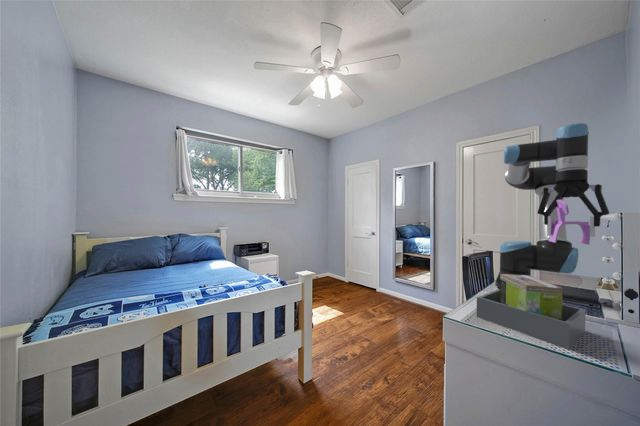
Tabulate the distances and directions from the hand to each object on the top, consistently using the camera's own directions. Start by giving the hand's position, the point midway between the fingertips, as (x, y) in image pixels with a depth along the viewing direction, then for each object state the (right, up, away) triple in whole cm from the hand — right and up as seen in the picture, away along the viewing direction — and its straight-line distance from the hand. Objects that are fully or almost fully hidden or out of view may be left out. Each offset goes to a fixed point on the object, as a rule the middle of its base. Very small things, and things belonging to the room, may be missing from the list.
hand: (570, 235), depth 81 cm
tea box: (-17, -30, -2) cm, 34 cm away
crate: (-17, -30, -2) cm, 34 cm away
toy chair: (0, -3, 0) cm, 3 cm away
